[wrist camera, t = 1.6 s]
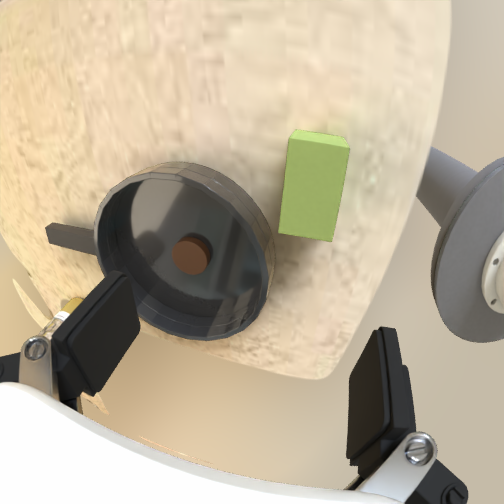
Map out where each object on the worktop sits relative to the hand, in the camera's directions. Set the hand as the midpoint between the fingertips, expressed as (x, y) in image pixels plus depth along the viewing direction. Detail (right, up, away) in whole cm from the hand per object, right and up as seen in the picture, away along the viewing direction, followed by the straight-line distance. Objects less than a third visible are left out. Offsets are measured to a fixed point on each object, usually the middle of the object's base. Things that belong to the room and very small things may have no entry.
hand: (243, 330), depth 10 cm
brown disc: (-6, +3, +20) cm, 21 cm away
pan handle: (-21, +5, +22) cm, 31 cm away
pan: (-7, +3, +20) cm, 22 cm away
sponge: (+6, +10, +13) cm, 17 cm away
